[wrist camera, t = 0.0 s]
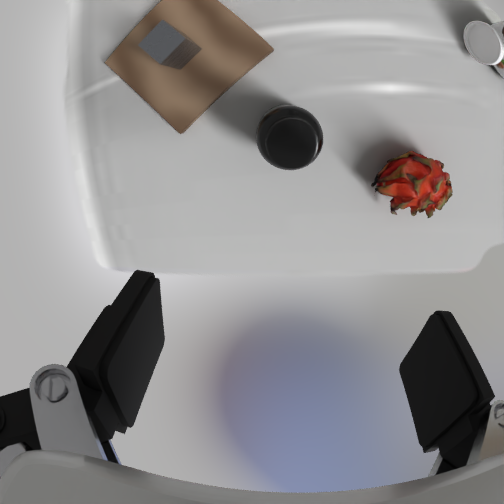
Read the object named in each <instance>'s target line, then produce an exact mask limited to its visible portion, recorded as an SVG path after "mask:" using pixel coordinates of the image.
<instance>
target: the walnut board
mask: <svg viewBox="0 0 504 504" xmlns="http://www.w3.org/2000/svg"><path fill="white" fill-rule="evenodd" d="M161 20H164V21H166V22H167V23H169V24H171V25H172V26H174V27H175V28H177V29H179V30H180V31H182V32H183V33H184V34H185V35H187V36H188V37H189V38H190V39H191V40H193V41H194V42H195V43H196V44H197V45H198V46H200V47H201V48H202V50H201V51H200V52H198V53H197V54H196V55H195V56H194V57H193V58H192V59H191V60H190V61H189V62H188V63H187V64H186V65H185V66H184V67H183V68H182V69H181V70H180V69H176V68H172V67H168V66H164V65H160V64H159V63H158V62H157V61H156V60H154V59H153V58H152V57H151V56H150V55H149V54H148V53H146V52H145V51H144V50H143V49H142V48H141V47H139V46H138V44H139V43H140V42H141V41H142V40H143V39H144V38H145V37H146V36H147V35H148V34H149V33H150V32H151V31H152V29H153V28H154V27H155V26H156V25H157V24H158V23H159V22H160V21H161ZM273 51H274V49H273V48H272V47H271V46H270V45H269V44H268V43H267V42H266V41H265V40H264V39H263V38H262V37H261V36H259V35H258V34H257V33H256V32H255V31H254V30H253V29H252V28H251V27H249V26H248V25H247V24H246V23H245V22H244V21H242V20H241V19H240V18H239V17H238V16H236V15H235V14H234V13H233V12H232V11H230V10H229V9H228V8H227V7H225V6H224V5H223V4H221V3H220V2H219V1H218V0H162V1H161V2H160V3H158V4H157V5H156V6H155V7H154V8H153V9H152V10H151V11H150V12H149V13H148V14H147V15H146V16H145V17H144V18H143V19H142V20H141V21H140V22H139V24H138V25H137V26H136V27H135V28H134V29H133V30H132V31H131V32H130V33H129V34H128V36H127V37H126V38H125V39H124V40H123V41H122V42H121V44H120V45H119V46H118V47H117V48H116V50H115V51H114V52H113V53H112V54H111V56H110V57H109V58H108V59H107V61H106V62H105V63H106V64H107V65H108V66H109V67H110V68H111V69H112V70H113V71H114V72H115V73H116V74H118V75H119V76H120V77H121V78H122V79H123V80H124V81H125V82H126V83H127V84H128V85H129V86H130V87H131V88H133V89H134V90H135V91H136V92H137V93H138V94H139V95H140V96H141V97H142V98H143V99H144V100H145V101H146V102H147V103H148V104H149V105H151V106H152V107H153V108H154V109H155V110H156V111H157V112H158V113H159V114H160V115H161V116H162V117H163V118H164V119H165V120H166V121H167V122H168V123H169V124H170V125H171V126H172V127H173V128H174V129H175V130H176V131H177V132H179V133H180V134H182V133H184V132H185V131H186V130H187V129H188V128H189V127H190V126H191V125H192V124H193V123H194V122H195V121H196V120H197V119H198V118H199V117H200V116H201V115H202V114H203V113H204V112H205V111H206V110H207V109H208V108H209V107H210V106H211V105H212V104H213V103H214V102H215V101H216V100H217V99H218V98H219V97H220V96H221V95H223V94H224V93H225V92H226V91H227V90H228V89H229V88H230V87H231V86H232V85H234V84H235V83H236V82H237V81H238V80H239V79H240V78H241V77H243V76H244V75H245V74H246V73H247V72H248V71H250V70H251V69H252V68H253V67H254V66H256V65H257V64H258V63H259V62H260V61H262V60H263V59H264V58H265V57H267V56H268V55H269V54H270V53H272V52H273Z"/></svg>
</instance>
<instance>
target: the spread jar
mask: <svg viewBox="0 0 504 504" xmlns="http://www.w3.org/2000/svg"><path fill="white" fill-rule="evenodd" d="M463 38H464V43H465V46H466V48H467V50H468V52H469V53H470V55H471V56H472V57H473V58H474V59H475V60H476V61H478V62H480V63H482V64H485V65H491V66H492V67H493V68H494V69H495V71H496V72H497V73H498V74H499V75H500V76H501V77H502V78H503V79H504V21H502V22H497V23H494V24H492V25H489V24H488V23H485V22H482V21H472V22H470V23H468V24H467V26H466V27H465V29H464V36H463Z"/></svg>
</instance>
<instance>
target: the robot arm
mask: <svg viewBox="0 0 504 504" xmlns="http://www.w3.org/2000/svg"><path fill="white" fill-rule="evenodd" d="M164 340H165V336H164V326H163V316H162V305H161V294H160V281H159V279H158V278H155V275H154V273H151V272H146V271H140V270H136V271H135V272H134V273H133V274H132V276H131V277H130V279H129V280H128V282H127V283H126V285H125V286H124V287H123V289H122V290H121V292H120V293H119V295H118V296H117V297H116V299H115V300H114V302H113V303H112V305H108V306H106V307H105V308H104V309H103V311H102V312H101V314H100V315H99V317H98V318H97V320H96V322H95V323H94V324H93V326H92V327H91V329H90V330H89V332H88V333H87V335H86V337H85V338H84V340H83V342H82V343H81V344H80V346H79V348H78V349H77V351H76V353H75V354H74V356H73V358H72V359H71V361H70V362H69V364H68V366H67V367H64V366H63V365H58V364H51V365H47V366H44V367H42V368H40V369H39V370H38V371H36V373H35V374H34V375H33V377H32V379H31V382H30V388H27V389H24V390H21V391H17V392H14V393H11V394H8V395H5V396H1V397H0V504H504V401H503V400H497V401H495V402H494V403H493V404H492V405H490V401H491V400H492V399H493V398H494V397H495V395H494V393H493V391H492V389H491V386H490V384H489V382H488V380H487V378H486V376H485V374H484V371H483V369H482V367H481V365H480V363H479V361H478V359H477V358H476V356H475V354H474V352H473V350H472V348H471V346H470V344H469V343H468V341H467V339H466V337H465V335H464V333H463V332H462V330H461V328H460V327H459V325H458V323H457V321H456V320H455V318H454V316H453V315H452V313H451V312H449V311H436V312H434V314H433V315H431V316H430V317H429V319H428V321H427V322H426V324H425V326H424V327H423V329H422V331H421V333H420V334H419V336H418V338H417V339H416V341H415V342H414V344H413V346H412V347H411V349H410V350H409V352H408V353H407V355H406V356H405V358H404V359H403V361H402V362H401V364H400V369H399V371H400V375H401V378H402V381H403V384H404V388H405V391H406V395H407V398H408V402H409V405H410V409H411V412H412V417H413V420H414V424H415V428H416V432H417V436H418V440H419V444H420V445H421V446H422V447H423V452H424V453H426V452H431V451H435V450H436V449H438V448H439V451H440V452H439V454H438V456H437V459H436V461H435V463H434V465H433V467H432V469H431V471H430V474H429V475H428V477H426V478H422V479H418V480H413V481H409V482H404V483H399V484H394V485H388V486H382V487H375V488H367V489H359V490H349V491H338V492H319V493H279V492H260V491H248V490H238V489H230V488H222V487H216V486H209V485H203V484H198V483H192V482H187V481H182V480H177V479H172V478H168V477H164V476H160V475H156V474H152V473H148V472H145V471H141V470H137V469H134V468H131V467H127V466H123V465H121V462H120V460H119V458H118V456H117V454H116V452H115V449H114V447H113V445H112V443H111V440H110V439H112V438H113V435H114V432H115V431H118V432H121V433H124V434H125V432H126V429H127V427H130V428H131V427H132V426H133V425H134V422H135V420H136V417H137V414H138V411H139V409H140V406H141V403H142V400H143V398H144V395H145V392H146V390H147V387H148V384H149V382H150V379H151V377H152V374H153V371H154V369H155V366H156V364H157V361H158V359H159V356H160V353H161V351H162V348H163V345H164Z"/></svg>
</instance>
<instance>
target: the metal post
mask: <svg viewBox="0 0 504 504" xmlns="http://www.w3.org/2000/svg"><path fill="white" fill-rule="evenodd" d="M138 46H139V47H141V48H142V49H143V50H144V51H145V52H146V53H148V54H149V55H150V56H151V57H152V58H153V59H154V60H156V61H157V62H158V63H159V64H160V65H164V66H168V67H172V68H176V69H180V70H181V69H182V68H183V67H184V66H185V65H186V64H187V63H188V62H189V61H190V60H191V59H192V58H193V57H194V56H195V55H196V54H197V53H198V52H200V51H201V50H202V48H201V47H200V46H198V45H197V44H196V43H195V42H194V41H193V40H191V39H190V38H189V37H188V36H187V35H185V34H184V33H183V32H182V31H180V30H179V29H177V28H175V27H174V26H172V25H171V24H169V23H167V22H166V21H164V20H161V21H160V22H159V23H158V24H157V25H156V26H155V27H154V28H153V29H152V31H151V32H150V33H149V34H148V35H147V36H146V37H145V38H144V39H143V40H142V41H141V42H140V43H139V44H138Z"/></svg>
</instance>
